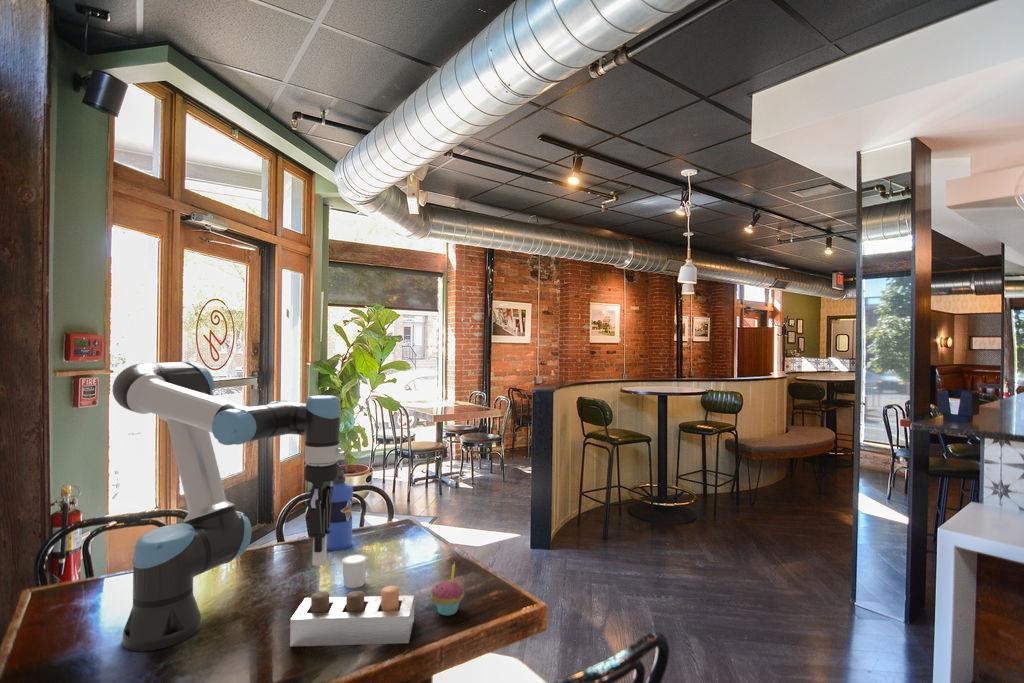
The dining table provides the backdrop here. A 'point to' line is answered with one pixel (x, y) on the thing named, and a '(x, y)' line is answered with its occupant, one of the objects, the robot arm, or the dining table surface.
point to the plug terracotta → (390, 598)
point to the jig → (352, 623)
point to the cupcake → (447, 595)
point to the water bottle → (340, 515)
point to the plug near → (320, 602)
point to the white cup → (354, 570)
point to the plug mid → (355, 601)
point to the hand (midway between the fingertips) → (319, 563)
